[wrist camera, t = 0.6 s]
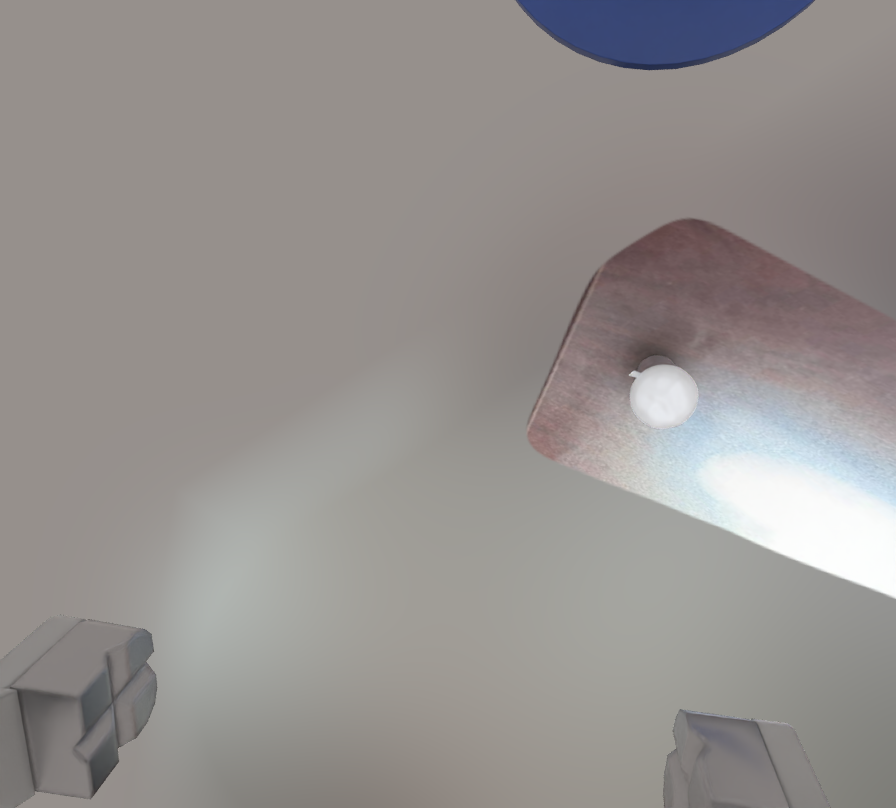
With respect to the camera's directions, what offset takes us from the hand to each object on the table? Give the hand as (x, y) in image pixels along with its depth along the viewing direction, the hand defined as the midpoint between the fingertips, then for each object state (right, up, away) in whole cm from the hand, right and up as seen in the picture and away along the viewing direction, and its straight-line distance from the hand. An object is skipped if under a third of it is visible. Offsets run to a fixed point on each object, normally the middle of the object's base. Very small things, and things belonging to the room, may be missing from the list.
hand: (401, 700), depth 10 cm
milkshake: (+17, +7, +44) cm, 48 cm away
